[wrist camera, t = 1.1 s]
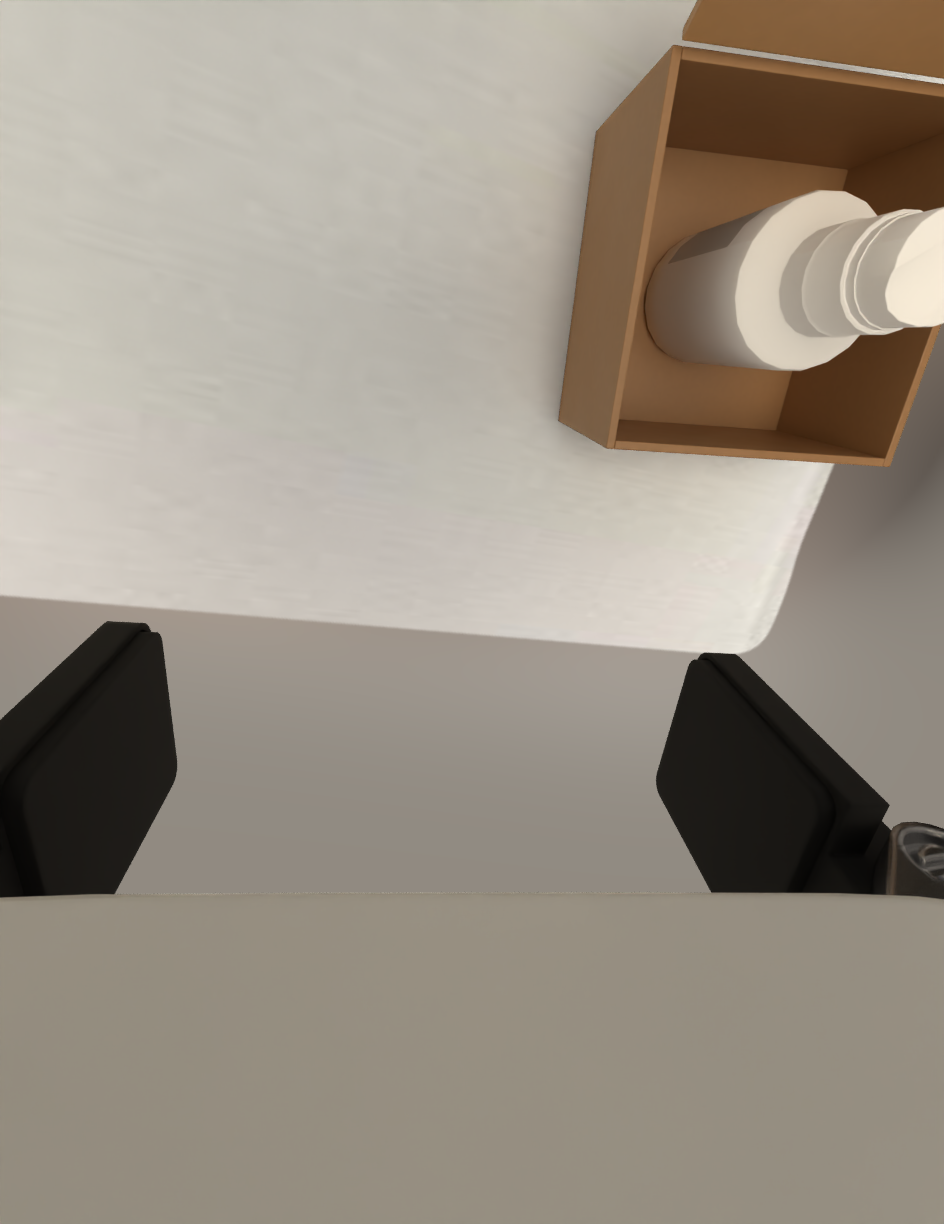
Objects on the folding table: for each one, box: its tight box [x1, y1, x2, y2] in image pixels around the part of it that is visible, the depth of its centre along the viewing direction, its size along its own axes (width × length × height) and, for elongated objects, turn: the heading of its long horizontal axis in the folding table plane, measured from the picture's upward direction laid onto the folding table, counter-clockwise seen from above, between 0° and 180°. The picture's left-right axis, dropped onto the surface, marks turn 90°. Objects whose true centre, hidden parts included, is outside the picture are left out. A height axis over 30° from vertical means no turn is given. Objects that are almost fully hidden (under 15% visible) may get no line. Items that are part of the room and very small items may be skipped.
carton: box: [558, 45, 944, 467], centre depth 31 cm, size 15×15×10 cm
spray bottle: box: [645, 190, 944, 371], centre depth 27 cm, size 7×7×18 cm
